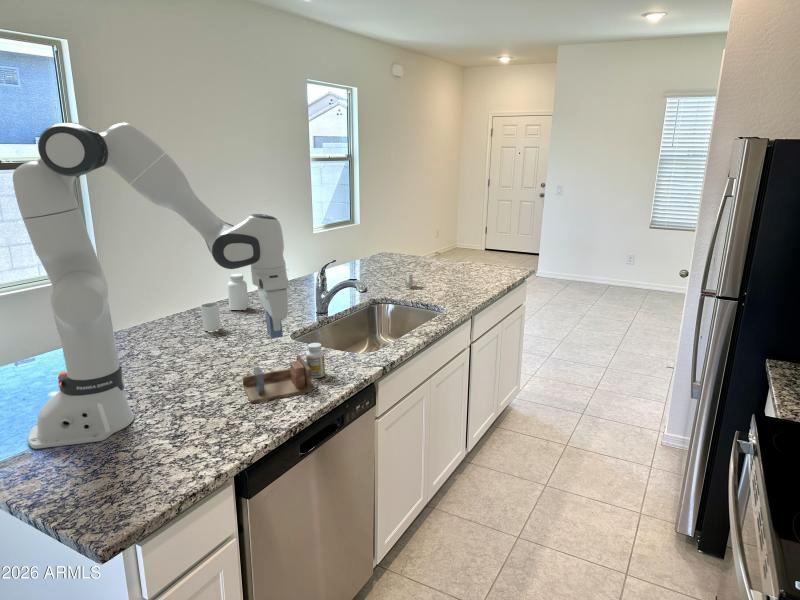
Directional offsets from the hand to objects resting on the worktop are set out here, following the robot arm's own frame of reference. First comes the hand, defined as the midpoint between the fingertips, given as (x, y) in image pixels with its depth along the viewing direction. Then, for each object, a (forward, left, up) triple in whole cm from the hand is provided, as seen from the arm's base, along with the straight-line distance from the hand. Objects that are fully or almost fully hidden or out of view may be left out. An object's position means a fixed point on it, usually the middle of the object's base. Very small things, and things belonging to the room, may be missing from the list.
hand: (274, 326), depth 144 cm
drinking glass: (-10, +67, -20) cm, 70 cm away
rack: (0, +4, -20) cm, 21 cm away
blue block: (0, 0, -2) cm, 2 cm away
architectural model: (+86, +92, -21) cm, 128 cm away
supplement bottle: (+13, +9, -20) cm, 26 cm away
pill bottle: (+4, +91, -20) cm, 93 cm away
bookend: (-5, +3, -19) cm, 20 cm away
